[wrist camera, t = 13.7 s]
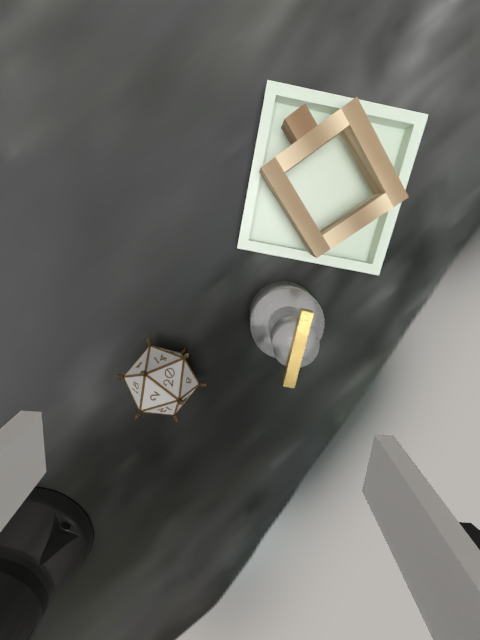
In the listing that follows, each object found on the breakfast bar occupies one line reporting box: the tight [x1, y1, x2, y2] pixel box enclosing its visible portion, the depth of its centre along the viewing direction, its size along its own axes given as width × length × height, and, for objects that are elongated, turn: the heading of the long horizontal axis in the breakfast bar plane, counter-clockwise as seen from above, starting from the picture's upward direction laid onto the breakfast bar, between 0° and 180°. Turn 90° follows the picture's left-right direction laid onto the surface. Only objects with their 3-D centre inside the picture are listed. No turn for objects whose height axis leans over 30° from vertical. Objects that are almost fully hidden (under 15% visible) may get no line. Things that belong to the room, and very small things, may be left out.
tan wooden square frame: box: [259, 97, 409, 258], centre depth 31 cm, size 10×12×3 cm
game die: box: [115, 338, 207, 422], centre depth 37 cm, size 9×8×10 cm
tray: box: [237, 80, 428, 275], centre depth 34 cm, size 15×15×2 cm
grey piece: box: [250, 281, 325, 388], centre depth 33 cm, size 8×8×12 cm
